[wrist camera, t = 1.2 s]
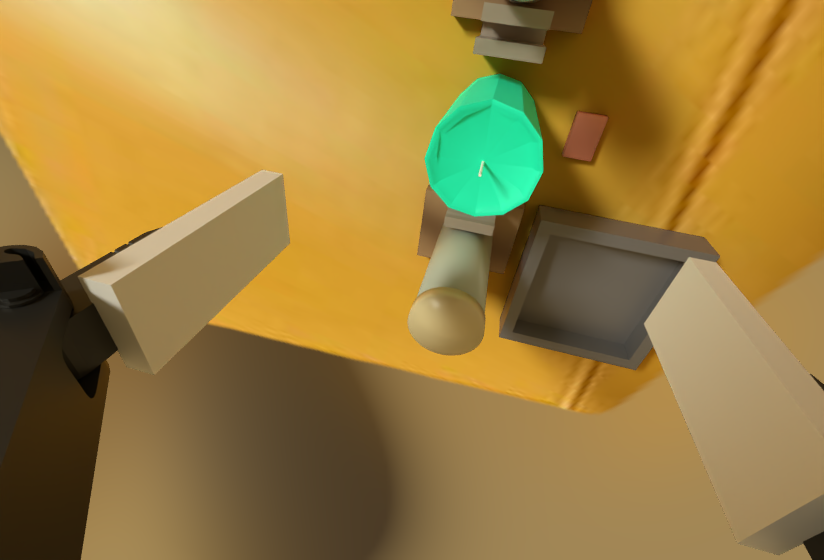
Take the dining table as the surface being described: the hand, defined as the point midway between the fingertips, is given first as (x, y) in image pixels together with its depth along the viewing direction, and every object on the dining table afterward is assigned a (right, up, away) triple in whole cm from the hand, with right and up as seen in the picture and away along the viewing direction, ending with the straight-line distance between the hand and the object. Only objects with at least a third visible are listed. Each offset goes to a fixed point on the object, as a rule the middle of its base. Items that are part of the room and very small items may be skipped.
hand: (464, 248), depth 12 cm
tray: (+14, -1, +20) cm, 25 cm away
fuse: (+3, +3, +19) cm, 19 cm away
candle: (+4, +11, +15) cm, 19 cm away
